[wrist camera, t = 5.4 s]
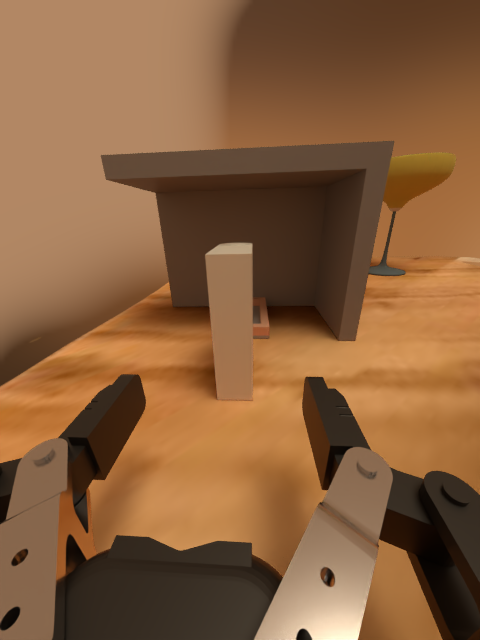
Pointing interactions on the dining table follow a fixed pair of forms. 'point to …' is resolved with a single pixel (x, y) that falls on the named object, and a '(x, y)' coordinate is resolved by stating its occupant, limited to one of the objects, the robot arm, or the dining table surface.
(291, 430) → the dining table surface
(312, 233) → the shelf
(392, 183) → the cocktail glass
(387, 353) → the dining table surface
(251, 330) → the tall beige pillar
